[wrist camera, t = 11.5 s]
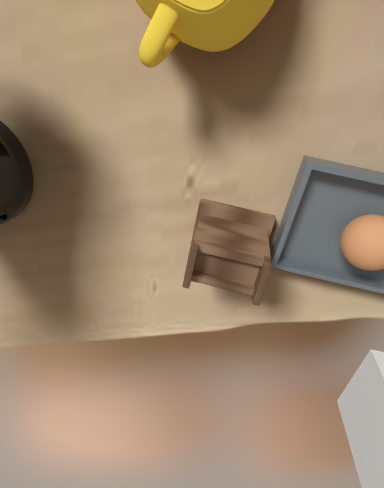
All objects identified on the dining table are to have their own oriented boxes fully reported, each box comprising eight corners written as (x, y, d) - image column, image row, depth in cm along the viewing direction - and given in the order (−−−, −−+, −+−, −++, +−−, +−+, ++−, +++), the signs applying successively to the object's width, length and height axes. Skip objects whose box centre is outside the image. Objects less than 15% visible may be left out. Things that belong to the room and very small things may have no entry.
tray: (269, 255, 42) (270, 267, 40) (304, 155, 36) (308, 162, 34) (410, 288, 42) (420, 302, 39) (471, 192, 35) (488, 202, 33)
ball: (347, 200, 37) (362, 222, 32) (401, 212, 37) (426, 237, 31) (327, 246, 40) (337, 273, 35) (377, 258, 40) (395, 287, 34)
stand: (191, 247, 44) (175, 295, 35) (201, 198, 40) (186, 237, 31) (258, 263, 43) (260, 316, 34) (274, 215, 40) (281, 260, 31)
